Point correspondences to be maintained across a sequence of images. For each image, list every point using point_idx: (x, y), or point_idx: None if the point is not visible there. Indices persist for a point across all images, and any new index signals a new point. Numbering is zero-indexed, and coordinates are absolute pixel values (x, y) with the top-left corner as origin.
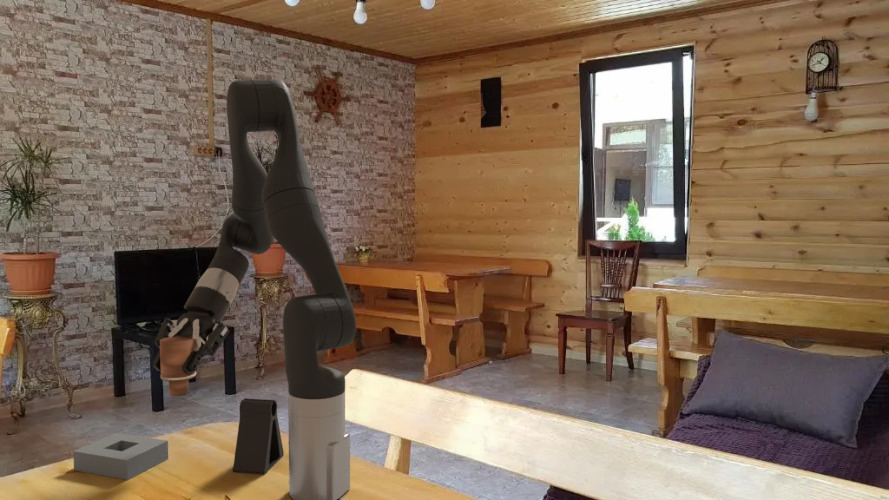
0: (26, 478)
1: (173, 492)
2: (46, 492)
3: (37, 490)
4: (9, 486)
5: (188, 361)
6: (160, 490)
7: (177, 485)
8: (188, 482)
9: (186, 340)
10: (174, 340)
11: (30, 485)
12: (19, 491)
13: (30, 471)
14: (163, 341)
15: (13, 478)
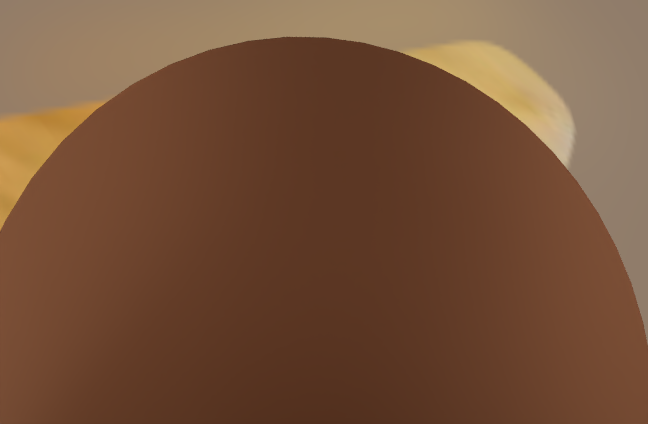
0: (532, 117)
1: (14, 116)
2: (407, 51)
3: (439, 57)
4: (524, 66)
5: None
6: (74, 121)
7: (35, 169)
8: (5, 202)
9: (92, 307)
10: (349, 242)
11: (483, 81)
12: (475, 45)
13: (565, 159)
14: (466, 122)
15: (560, 110)
